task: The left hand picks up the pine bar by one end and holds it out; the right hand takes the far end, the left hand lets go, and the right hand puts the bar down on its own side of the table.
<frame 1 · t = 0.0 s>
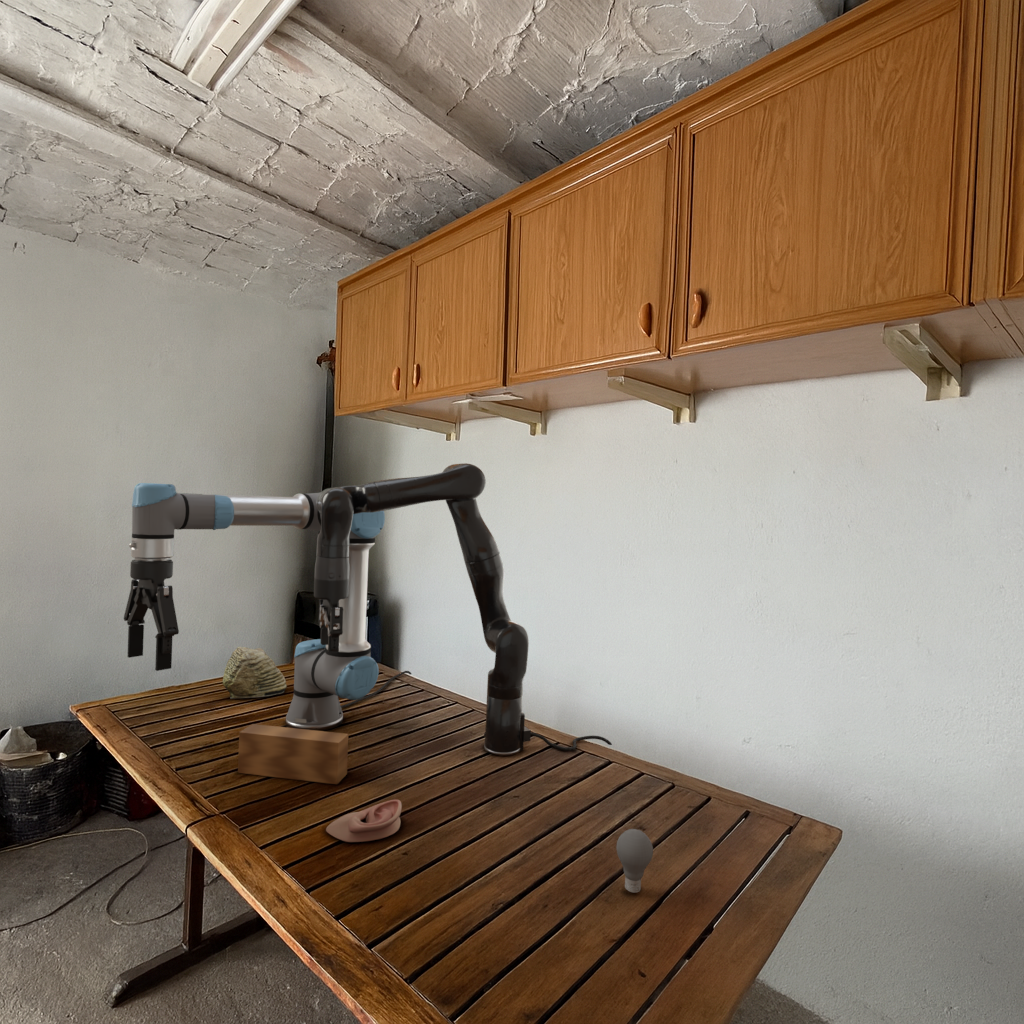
left hand: (148, 662, 129), 28 cm above the table, tool pointing down, fingers open, 13 cm apart
right hand: (329, 648, 142), 29 cm above the table, tool pointing down, fingers open, 8 cm apart
bar: (292, 773, 144), on the table
fossil: (254, 694, 198), on the table
anatomical model: (364, 828, 122), on the table
light bulb: (632, 891, 106), on the table
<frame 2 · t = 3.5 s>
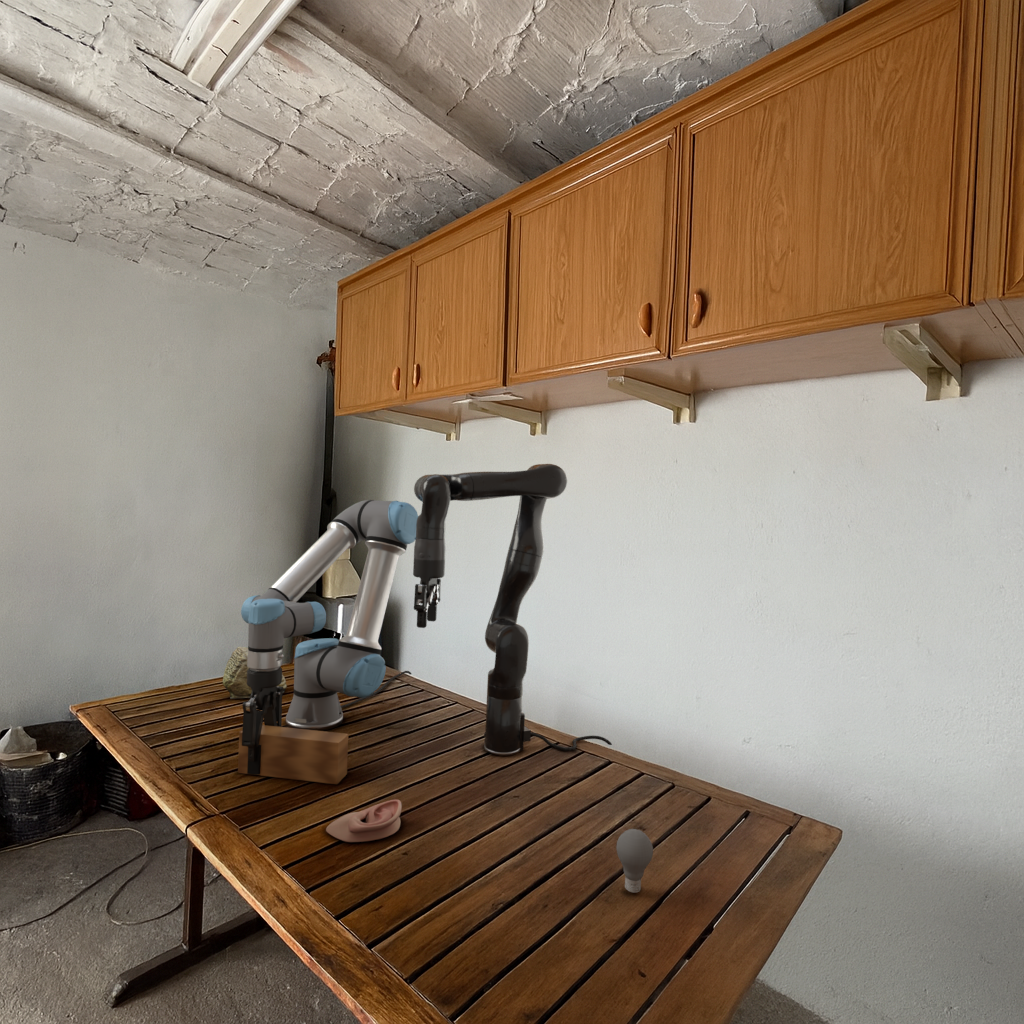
left hand: (261, 767, 145), 1 cm above the table, tool pointing down, fingers closed on bar, 5 cm apart
right hand: (426, 624, 153), 34 cm above the table, tool pointing down, fingers open, 8 cm apart
bar: (292, 773, 144), on the table, touching left hand
everything else where it was.
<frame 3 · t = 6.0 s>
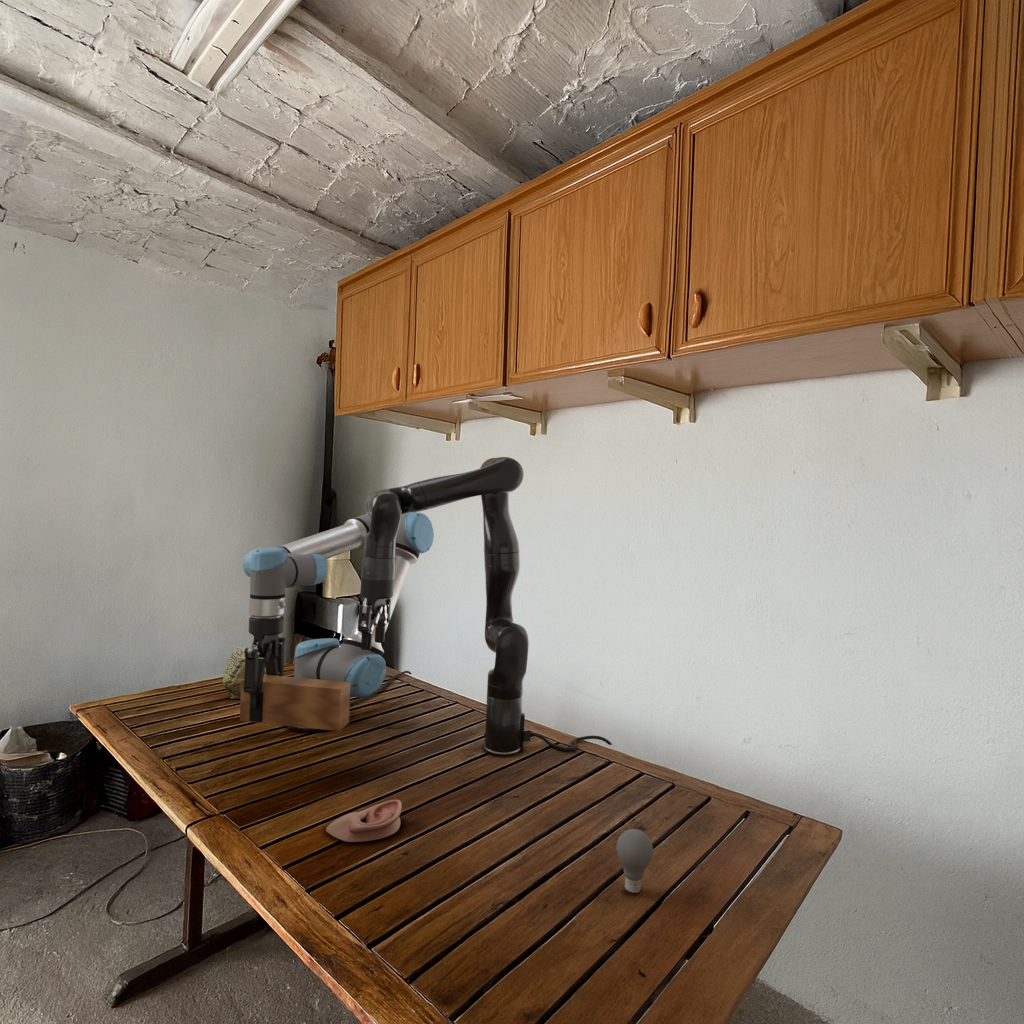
left hand: (263, 716, 145), 12 cm above the table, tool pointing down, fingers closed on bar, 5 cm apart
right hand: (372, 646, 147), 29 cm above the table, tool pointing down, fingers open, 8 cm apart
bar: (294, 721, 144), point 12 cm above the table, touching left hand
everything else where it was.
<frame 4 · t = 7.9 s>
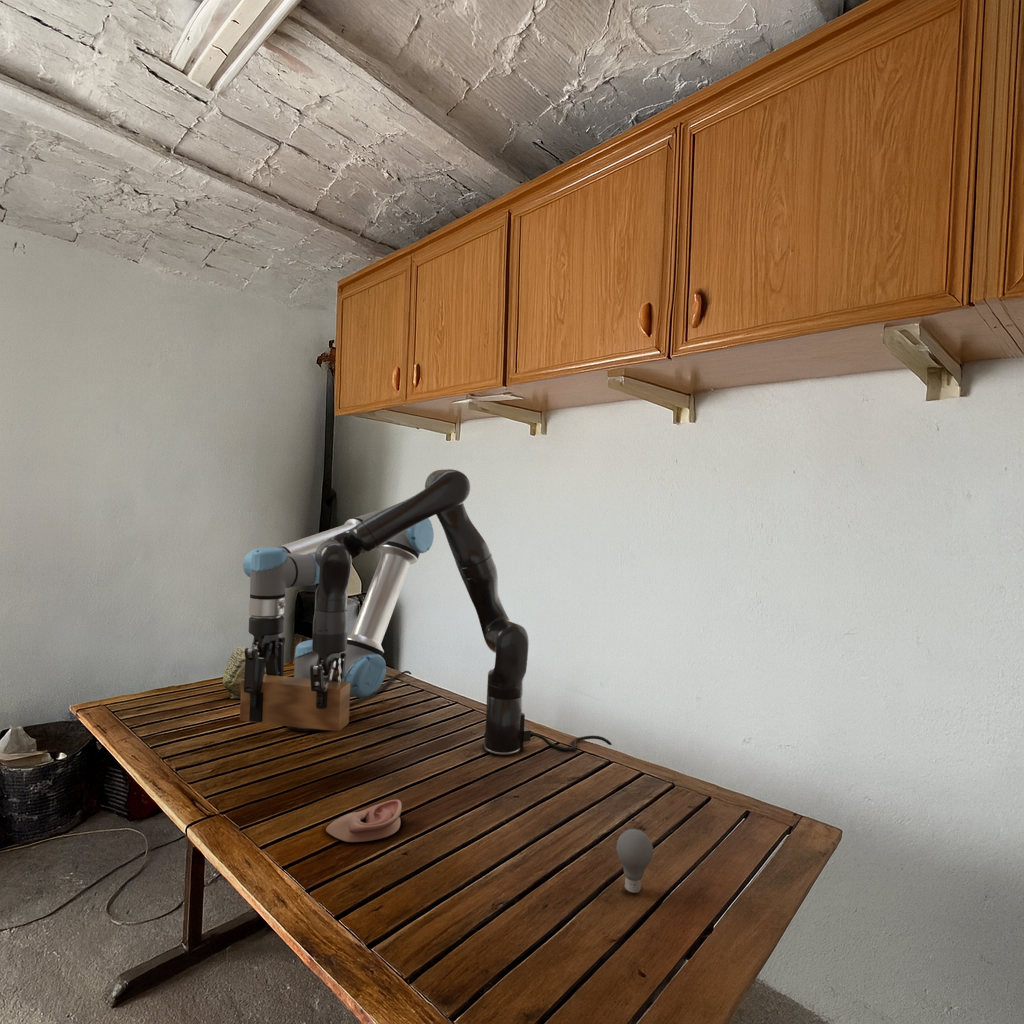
left hand: (263, 716, 145), 12 cm above the table, tool pointing down, fingers closed on bar, 5 cm apart
right hand: (327, 703, 143), 17 cm above the table, tool pointing down, fingers closed on bar, 5 cm apart
bar: (294, 721, 144), point 12 cm above the table, touching left hand, right hand
everything else where it was.
when the left hand's fingers open (12 cm above the table, at t = 8.9 s): bar stays where it is, held by the right hand.
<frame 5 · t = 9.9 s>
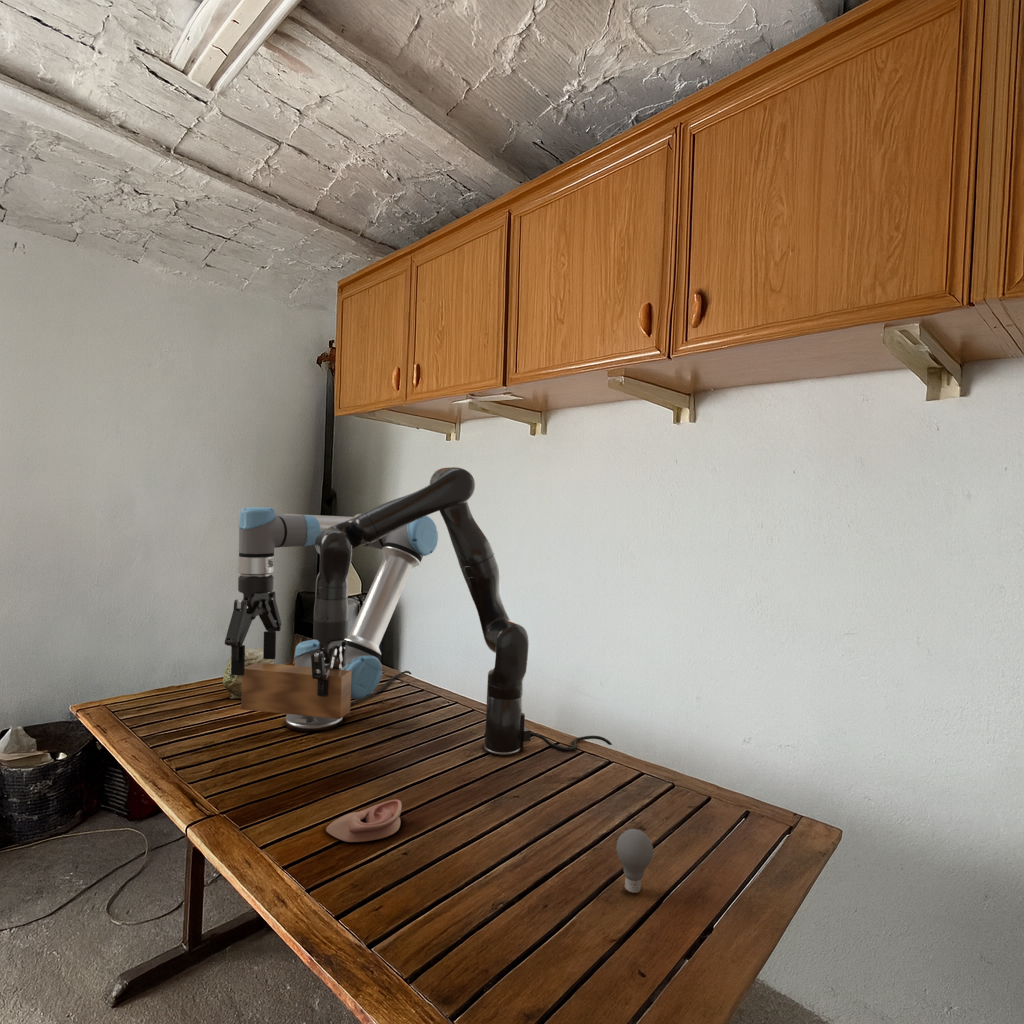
left hand: (254, 666, 146), 24 cm above the table, tool pointing down, fingers open, 13 cm apart
right hand: (328, 691, 143), 19 cm above the table, tool pointing down, fingers closed on bar, 5 cm apart
bar: (295, 710, 144), point 15 cm above the table, touching right hand
everything else where it was.
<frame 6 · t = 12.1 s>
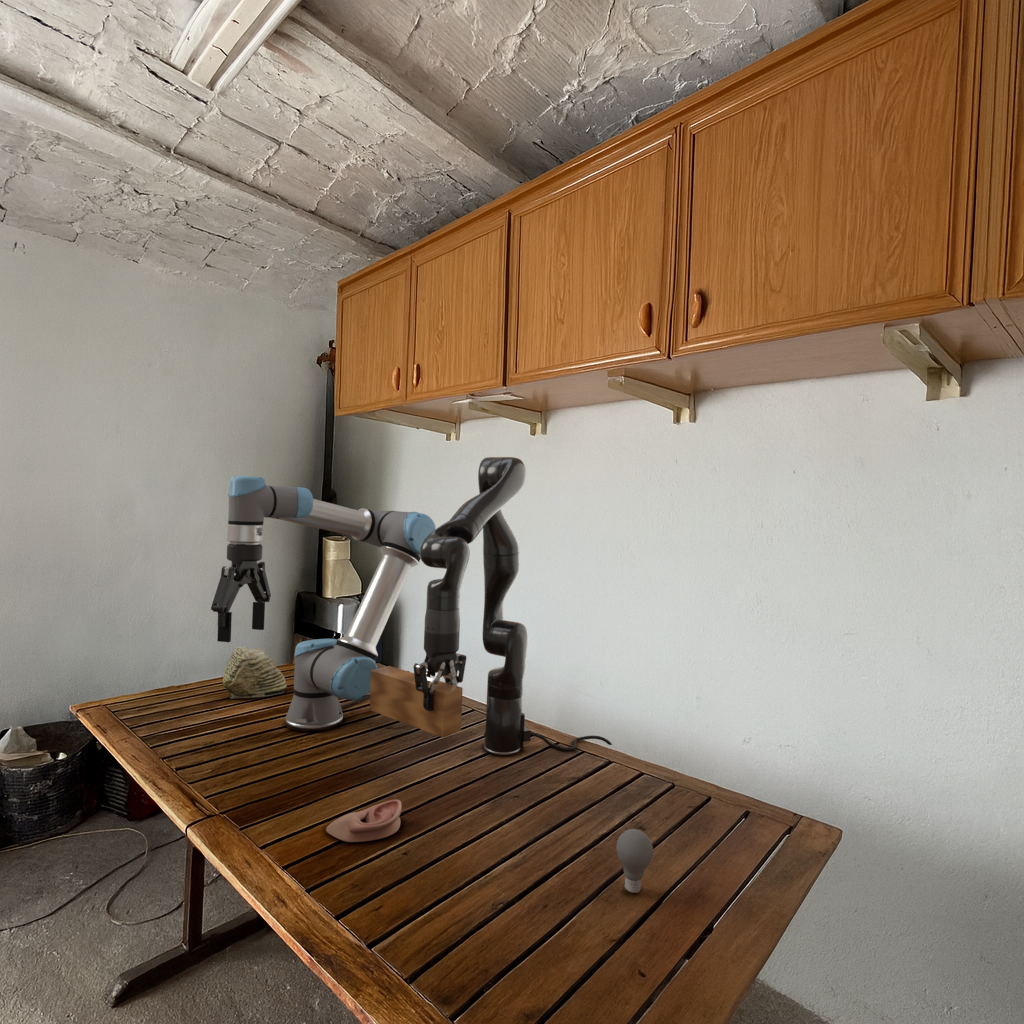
left hand: (241, 635, 146), 31 cm above the table, tool pointing down, fingers open, 13 cm apart
right hand: (439, 706, 136), 19 cm above the table, tool pointing down, fingers closed on bar, 5 cm apart
bar: (413, 720, 141), point 15 cm above the table, touching right hand
everything else where it was.
when the right hand's fingers open (6 cm above the table, at t = 16.4 s): bar drops 2 cm, on the table.
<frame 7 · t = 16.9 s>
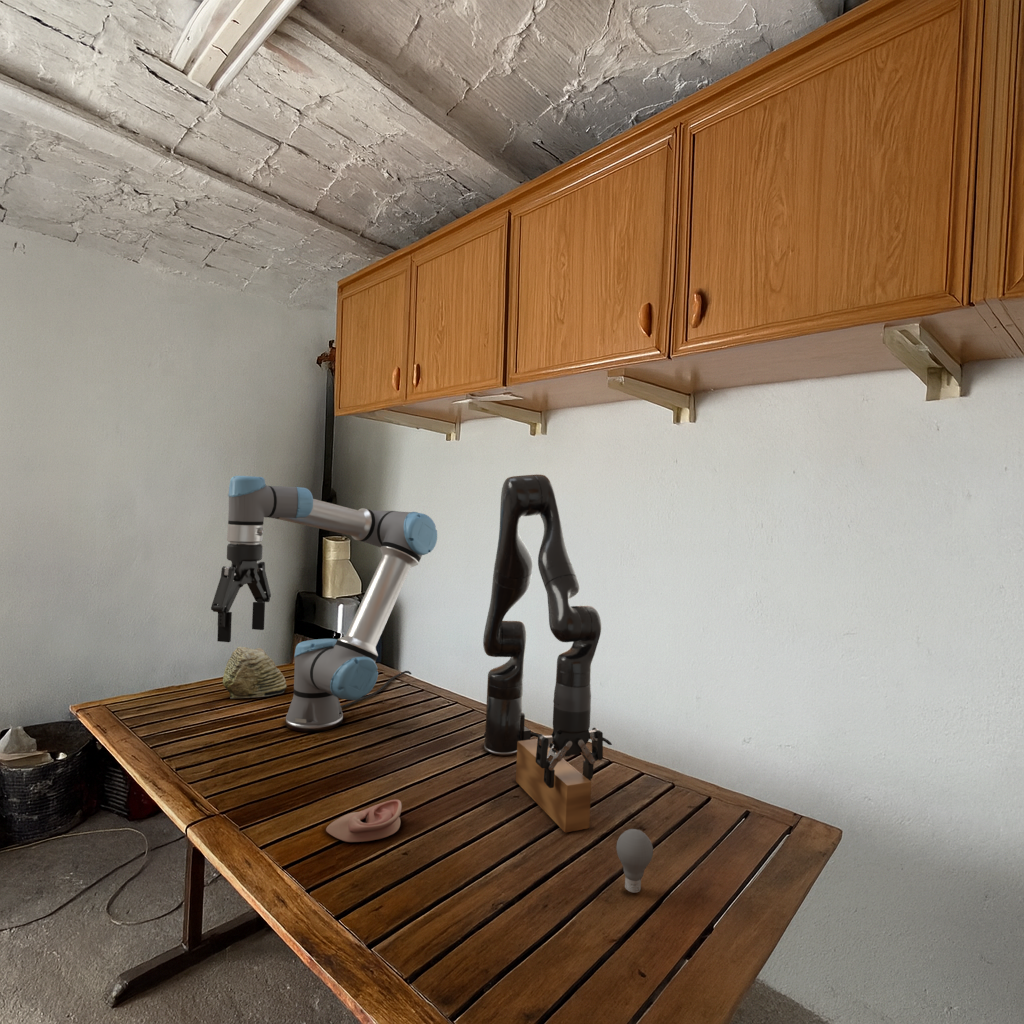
left hand: (241, 635, 146), 31 cm above the table, tool pointing down, fingers open, 13 cm apart
right hand: (568, 783, 129), 7 cm above the table, tool pointing down, fingers open, 8 cm apart
bar: (549, 803, 135), on the table
everything else where it was.
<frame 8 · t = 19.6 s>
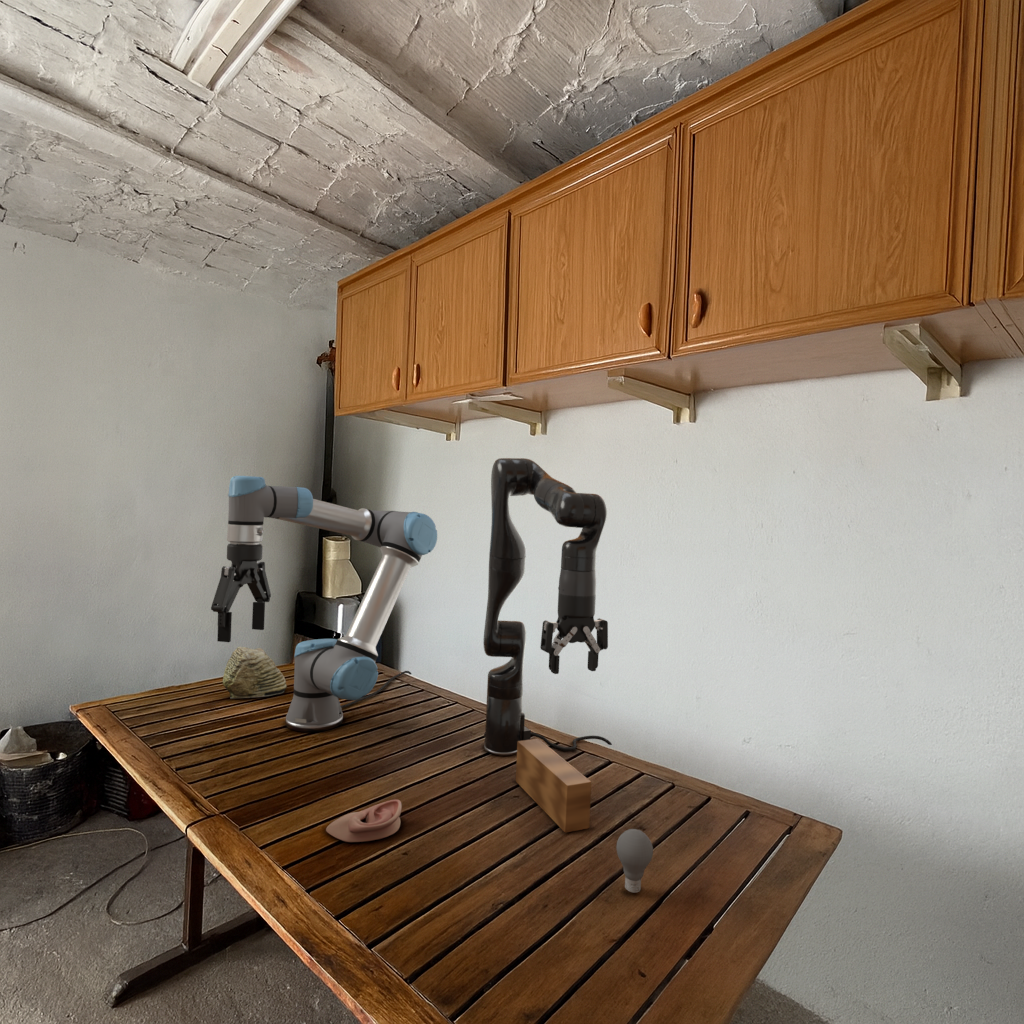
left hand: (241, 635, 146), 31 cm above the table, tool pointing down, fingers open, 13 cm apart
right hand: (573, 671, 128), 30 cm above the table, tool pointing down, fingers open, 8 cm apart
nothing on the table moved.
at the end: bar inside the target area (7.4 cm from its centre), on the table; the left hand is holding nothing; the right hand is holding nothing; bar at rest at the end (0.0 cm/s) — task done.
